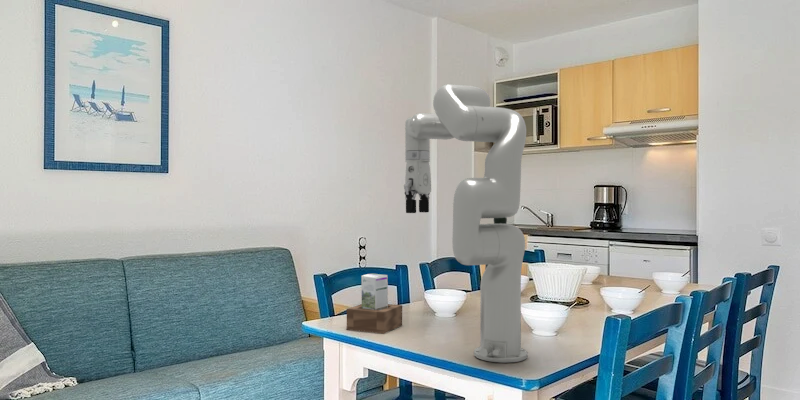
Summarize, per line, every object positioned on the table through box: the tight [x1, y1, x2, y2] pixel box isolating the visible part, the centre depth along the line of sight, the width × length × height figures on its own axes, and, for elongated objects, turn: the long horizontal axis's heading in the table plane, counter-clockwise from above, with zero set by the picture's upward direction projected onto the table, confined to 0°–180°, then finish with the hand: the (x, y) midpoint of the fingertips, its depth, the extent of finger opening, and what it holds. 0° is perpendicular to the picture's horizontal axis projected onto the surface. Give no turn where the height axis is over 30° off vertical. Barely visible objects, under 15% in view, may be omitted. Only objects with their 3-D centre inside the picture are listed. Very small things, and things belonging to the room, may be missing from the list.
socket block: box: [346, 303, 403, 335], centre depth 174 cm, size 12×12×6 cm
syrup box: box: [360, 273, 389, 310], centre depth 174 cm, size 6×6×14 cm
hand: (417, 212), depth 184 cm, fingers open, 9 cm apart
